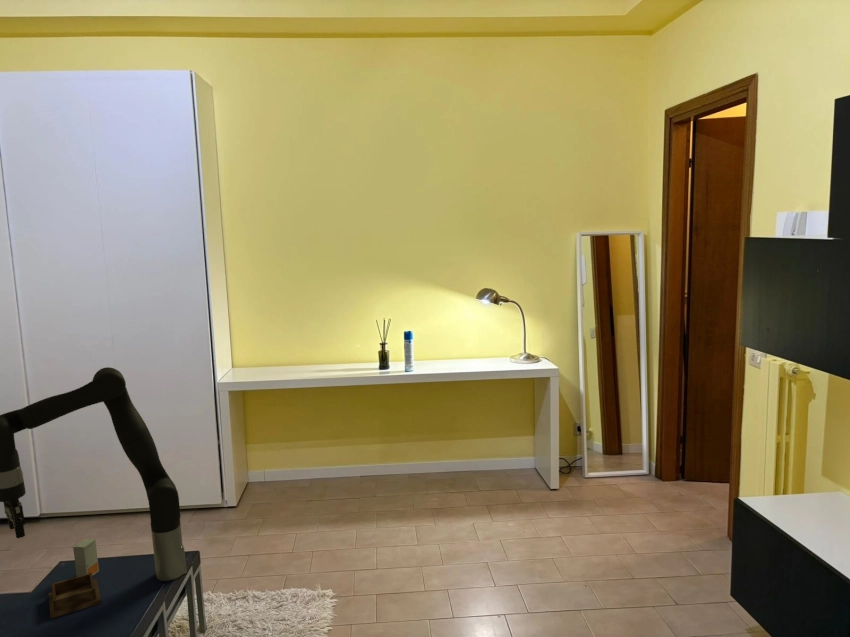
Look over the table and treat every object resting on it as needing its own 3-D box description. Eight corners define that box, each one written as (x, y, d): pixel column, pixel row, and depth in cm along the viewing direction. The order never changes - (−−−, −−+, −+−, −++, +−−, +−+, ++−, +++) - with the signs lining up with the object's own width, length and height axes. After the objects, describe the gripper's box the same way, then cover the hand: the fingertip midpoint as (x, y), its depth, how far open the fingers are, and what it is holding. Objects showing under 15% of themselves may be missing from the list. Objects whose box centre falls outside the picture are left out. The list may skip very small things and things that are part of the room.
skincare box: (87, 580, 217) (83, 547, 216) (76, 579, 218) (72, 546, 216) (99, 570, 223) (95, 538, 221) (89, 569, 224) (85, 537, 222)
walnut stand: (96, 582, 216) (95, 569, 215) (101, 603, 204) (99, 589, 203) (49, 596, 209) (47, 583, 208) (50, 618, 197) (48, 604, 196)
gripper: (29, 484, 190) (37, 535, 193) (17, 472, 200) (25, 520, 203) (-1, 493, 185) (8, 545, 188) (-11, 480, 195) (-3, 529, 198)
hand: (17, 532), depth 195 cm, fingers open, 8 cm apart
